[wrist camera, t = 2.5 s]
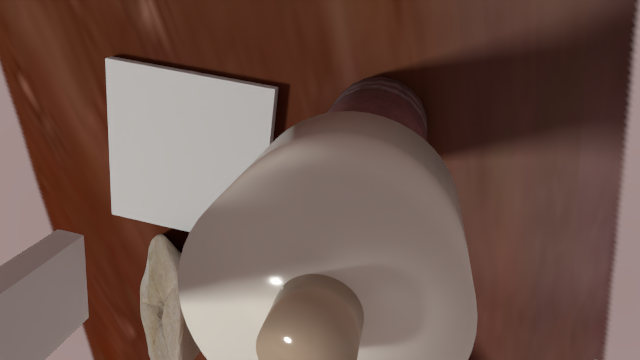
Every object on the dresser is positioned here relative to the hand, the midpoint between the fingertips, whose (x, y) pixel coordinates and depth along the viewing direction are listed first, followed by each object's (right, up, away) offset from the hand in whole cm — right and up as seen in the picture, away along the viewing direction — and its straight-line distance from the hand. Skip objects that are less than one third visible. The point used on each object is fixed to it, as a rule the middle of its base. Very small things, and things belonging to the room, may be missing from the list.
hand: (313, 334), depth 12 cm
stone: (-11, -4, +27) cm, 29 cm away
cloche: (+1, +3, +6) cm, 7 cm away
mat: (-9, +6, +22) cm, 25 cm away
